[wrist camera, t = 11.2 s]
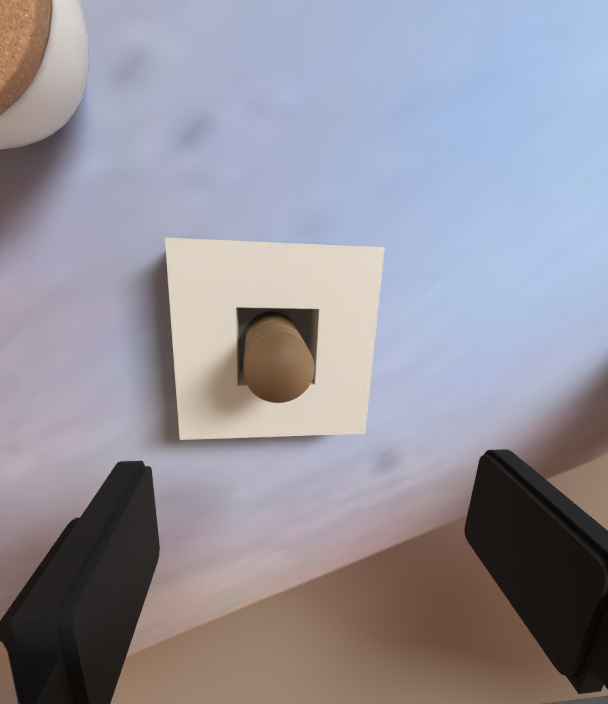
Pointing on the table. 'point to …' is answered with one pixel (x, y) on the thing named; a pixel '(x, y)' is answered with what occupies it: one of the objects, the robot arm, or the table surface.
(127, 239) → the table surface
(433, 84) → the table surface
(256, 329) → the pin
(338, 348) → the bore block
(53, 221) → the table surface
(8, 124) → the lidded bowl
